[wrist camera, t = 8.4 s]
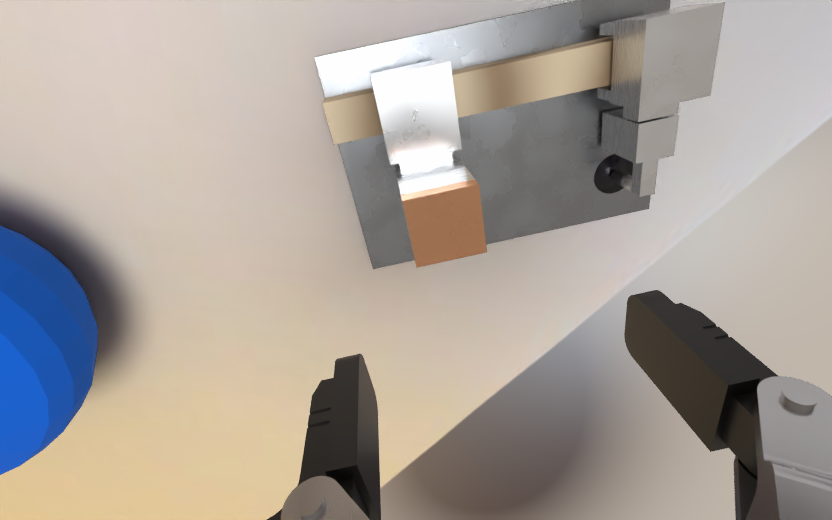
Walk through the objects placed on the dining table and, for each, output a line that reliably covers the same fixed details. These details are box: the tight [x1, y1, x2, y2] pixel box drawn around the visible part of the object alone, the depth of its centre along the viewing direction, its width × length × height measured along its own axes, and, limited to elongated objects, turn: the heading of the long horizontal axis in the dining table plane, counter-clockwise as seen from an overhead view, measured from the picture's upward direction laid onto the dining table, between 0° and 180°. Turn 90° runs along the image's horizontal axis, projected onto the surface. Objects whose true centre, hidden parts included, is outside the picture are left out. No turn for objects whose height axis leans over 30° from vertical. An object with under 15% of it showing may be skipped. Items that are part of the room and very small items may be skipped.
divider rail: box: [322, 36, 614, 145], centre depth 25 cm, size 22×2×2 cm, turn 101°
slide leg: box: [370, 59, 487, 267], centre depth 23 cm, size 4×11×10 cm, turn 11°
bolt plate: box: [315, 0, 670, 269], centre depth 29 cm, size 22×15×1 cm
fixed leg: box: [597, 2, 725, 197], centre depth 25 cm, size 4×11×5 cm, turn 11°
